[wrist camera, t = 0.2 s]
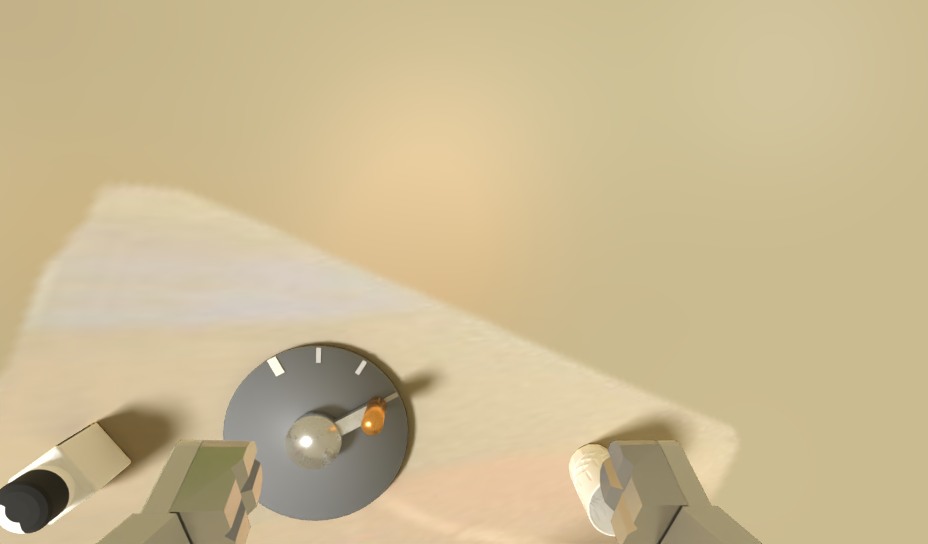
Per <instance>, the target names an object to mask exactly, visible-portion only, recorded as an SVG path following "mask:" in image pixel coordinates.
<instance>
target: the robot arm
mask: <svg viewBox="0 0 928 544" xmlns="http://www.w3.org/2000/svg"><path fill="white" fill-rule="evenodd" d="M608 452H609V455H610V457H609V458H607V459H606V460H604V461H603V463H602V466H601V469H600V486H601V492H602V495H603V499H604V502H605V503H606V504H607V505H608V506H609V507H610V508H611V509H612V510H613V511H614V513H613V515H612V518H611V524H612V527H613V531H614V534H615V537H616V540H617V543H618V544H762V543H761V542H760V541H758V540H757V539H756V538H755V537H754V536H752V535H751V534H750V533H749V532H748V531H747V530H745V529H744V528H743V527H742V526H741V525H739V524H738V523H737V522H736V521H734V520H733V519H732V518H731V517H730V516H729V515H728V514H726V513H725V512H724V511H723V510H722V509H721V508H719V507H718V506H711V504H710V502H709V500H708V498H707V496H706V494H705V492H704V490H703V488H702V486H701V484H700V482H699V480H698V478H697V476H696V474H695V472H694V470H693V468H692V466H691V464H690V463H689V461H688V459H687V457H686V455H685V453H684V451H683V449H682V447H681V445H680V444H679V443H678V442H677V441H674V440H660V441H654V440H614V441H613V442H611V443H610V445H609V448H608ZM256 453H257V447H256V444H255V441H218V440H180V441H179V442H178V443H177V444H176V446H175V447H174V448H173V450H172V452H171V454H170V456H169V458H168V460H167V462H166V464H165V466H164V468H163V469H162V471H161V473H160V475H159V477H158V479H157V481H156V483H155V485H154V487H153V489H152V491H151V493H150V495H149V497H148V499H147V501H146V503H145V505H144V507H143V509H142V511H141V513H138V514H132V515H131V516H129V517H128V518H127V519H126V520H124V521H123V522H122V523H121V524H119V525H118V526H117V527H116V528H115V529H113V530H112V531H111V532H110V533H108V534H107V535H106V536H105V537H104V538H102V539H101V540H100V541H99V542H97V543H96V544H245V543H246V540H247V536H248V533H249V530H250V523H249V520H248V516H247V515H248V514H249V513H250V512H251V511H252V510H253V509H254V508H256V507H257V504H258V500H259V497H260V493H261V486H262V467H261V463H260V462H259V461H257V460H256V459H255V456H256Z"/></svg>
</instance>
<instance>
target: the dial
mask: <svg viewBox="0 0 928 544" xmlns="http://www.w3.org/2000/svg"><path fill="white" fill-rule="evenodd" d="M386 413H387V404H386V401H385V400H384V399H383V398H381V397H373V398H371V399H370V400H369V401H368V403H367V404H365V405H363V406H361V407H359V408H357V409H355V410H353V411H351V412H349V413H348V414H346V415H344V416H342V417H340V418H338V419H335V418H334V417H333V416H331V415H330V414H327V413H325V412H320V411H313V412H308V413H305V414H303V415H302V416H300V417H299V418H297V420H296V421H295V422H294V423H293V425H292V426H291V428H290V429H289V431H288V433H287V435H286V439H285V449H286V452H287V454H288V456H289V458H290V459H291V460H292V461H293V462H294V463H295V464H296V465H298V466H300V467H302V468H305V469H311V470H315V469H321V468H324V467H326V466H328V465H329V464H331V463H332V462H333V461H334V460H335V459H336V457H337V455H338V454H339V451H340V448H341V446H342V442H343V435H344V434H346V433H348V432H350V431H352V430H354V429H356V428H358V427H360V426H361V428H362V430H363V432H364V433H366V434H367V435H377V434H378V433H380V432H381V430H382V428H383V424H384V419H385V414H386Z"/></svg>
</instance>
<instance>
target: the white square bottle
mask: <svg viewBox="0 0 928 544" xmlns="http://www.w3.org/2000/svg"><path fill="white" fill-rule="evenodd" d="M130 464H131V460H130V459H129V458H128V457H127V456H126V455H125V454H124V452H123V451H122V450H121V449H120V448H119V447H118V446H117V445H116V444H115V442H114V441H113V440H112V439H111V438H110V437H109V436H108V435H107V433H106V432H105V431H104V430H103V429H102V428H101V427H100V426H99V425H98V423H92V424H91V425H89V426H87V427H86V428H84V429H82V430H81V431H79V432H78V433H76V434H74V435H73V436H71V437H69V438H68V439H66V440H64V441H63V442H61V443H60V444H58V445H56V446H55V447H53V448H52V449H51V450H49V451H48V452H47V453H45V454H44V455H42V456H41V457H40V458H38V459H37V460H35V461H34V462H33V463H31V464H30V465H29V466H27V467H26V468H24V469H23V470H22V471H20V472H19V473H17V474H16V475H15V476H13V477H12V478H11V479H10V480H9V483H8V484H7V485H5V486H4V487H2V488H1V489H0V525H1V526H2V527H3V528H5V529H6V530H9V531H11V532H14V533H22V534H26V533H32V532H36V531H38V530H40V529H41V528H43V527H44V526H45V525H47V524H50V525H51V524H53V523H55V522H56V521H57V520H59V519H60V518H61V517H63V516H64V515H66V514H67V513H68V512H70V511H71V510H72V509H74V508H75V507H77V506H78V505H79V504H81V503H82V502H84V501H85V500H86V499H88V498H89V497H90V496H92V495H93V494H95V493H96V492H97V491H99V490H100V489H101V488H102V487H103V486H105V485H106V484H107V483H108V482H109V481H111V480H112V479H113V478H114V477H115V476H117V475H118V474H119V473H120V472H121V471H123V470H124V469H125V468H126V467H127V466H129V465H130Z"/></svg>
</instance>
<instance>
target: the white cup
mask: <svg viewBox="0 0 928 544" xmlns="http://www.w3.org/2000/svg"><path fill="white" fill-rule="evenodd" d="M609 457H610V455H609V452H608V449H607V448H605V447H603V446H601V445H599V444H588V445H585V446H583V447H581V448H579V449H578V450H577V451H576V452H575V453H574V454H573V456H572V457H571V460H570V464H569V471H570V477H571V479H572V481H573V483H574V486H575V488H576V491H577V493H578V495H579V498H580V500H581V502H582V504H583V506H584V508H585V510H586V512H587V515H588V517H589V519H590V521H591V523H592V524H593V526H594V527H595V528H596V529H597V530H598V531H600V532H601V533H603V534H606V535H609V536H615V534H614V531H613V527H612V524H611V518H612V515H613V513H614V511H613V510H612V509H611V508H610V507H609V506H608V505H607V504H606V503H605V502H604V499H603V495H602V492H601V486H600V469H601V466H602V463H603V461H604V460H606V459H607V458H609Z"/></svg>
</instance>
